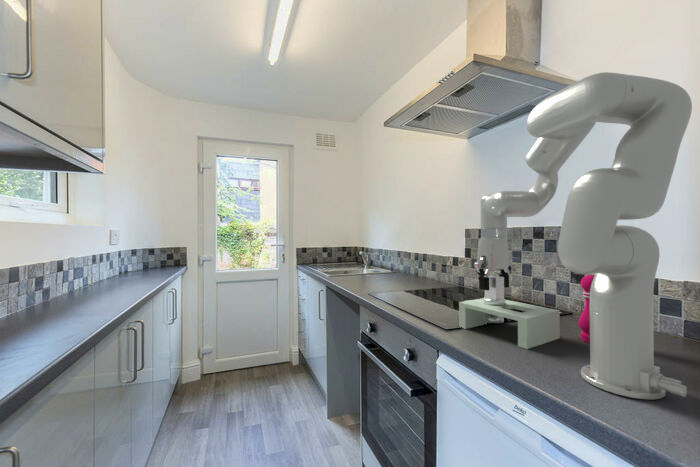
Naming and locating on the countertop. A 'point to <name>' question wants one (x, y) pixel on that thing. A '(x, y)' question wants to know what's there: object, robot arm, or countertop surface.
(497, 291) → the steel peg
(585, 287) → the pepper mill
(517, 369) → the countertop surface
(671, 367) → the countertop surface
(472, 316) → the keyhole bracket
